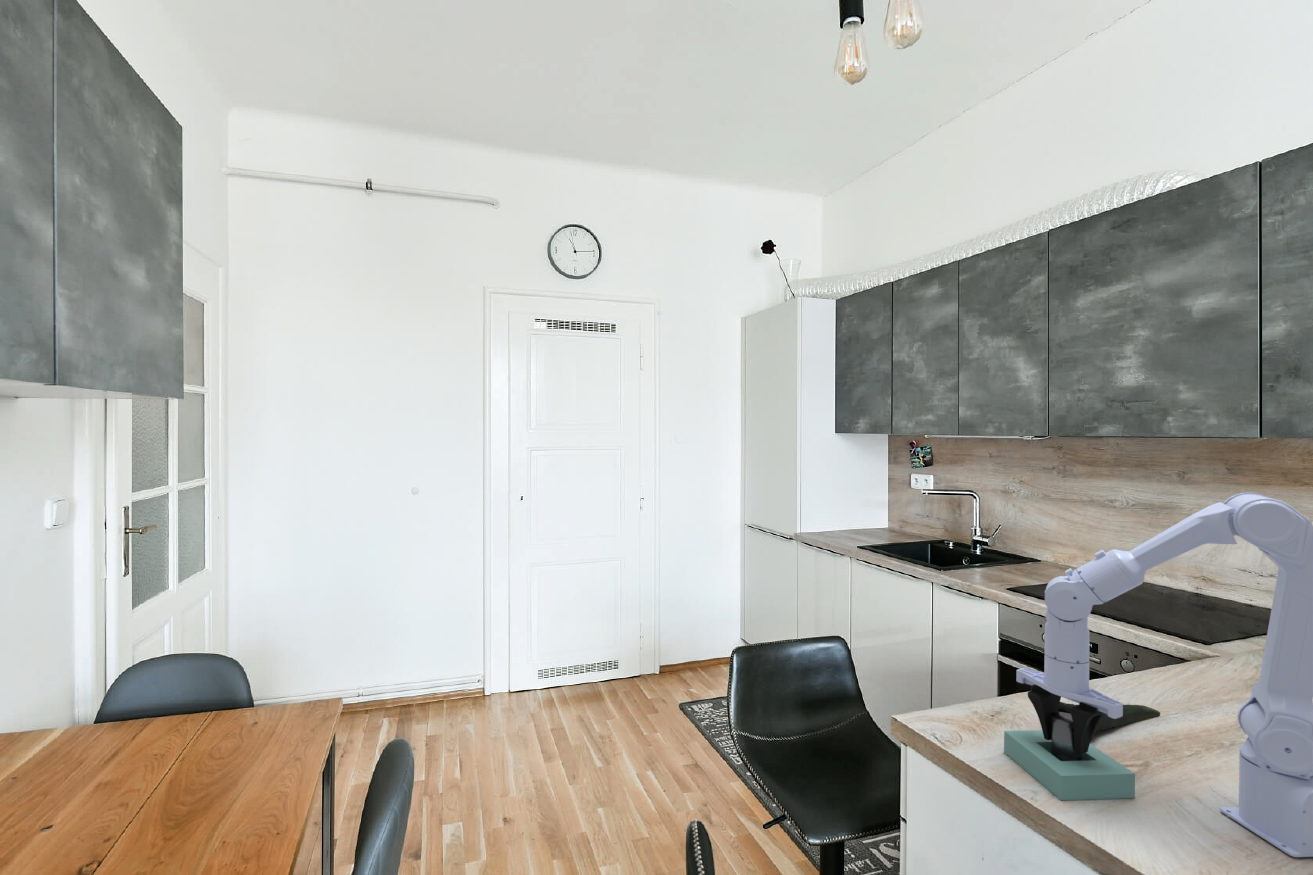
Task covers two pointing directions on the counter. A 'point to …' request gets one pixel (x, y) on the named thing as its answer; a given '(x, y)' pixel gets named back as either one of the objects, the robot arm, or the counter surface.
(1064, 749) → the pin
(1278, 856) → the counter surface
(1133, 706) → the tool
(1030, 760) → the hole block
